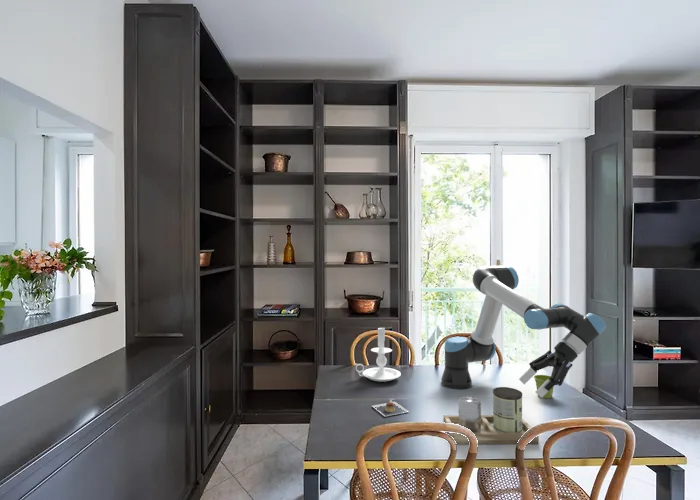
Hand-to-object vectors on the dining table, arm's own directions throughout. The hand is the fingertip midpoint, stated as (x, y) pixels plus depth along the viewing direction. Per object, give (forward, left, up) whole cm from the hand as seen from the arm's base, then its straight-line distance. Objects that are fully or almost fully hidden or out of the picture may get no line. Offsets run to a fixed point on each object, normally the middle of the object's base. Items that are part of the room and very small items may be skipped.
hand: (529, 388), depth 146 cm
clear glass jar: (0, -22, -16) cm, 27 cm away
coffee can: (0, -8, -16) cm, 18 cm away
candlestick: (-62, -52, -17) cm, 83 cm away
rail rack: (0, -15, -17) cm, 23 cm away
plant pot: (-37, +25, -17) cm, 48 cm away
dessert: (-22, -50, -18) cm, 58 cm away
